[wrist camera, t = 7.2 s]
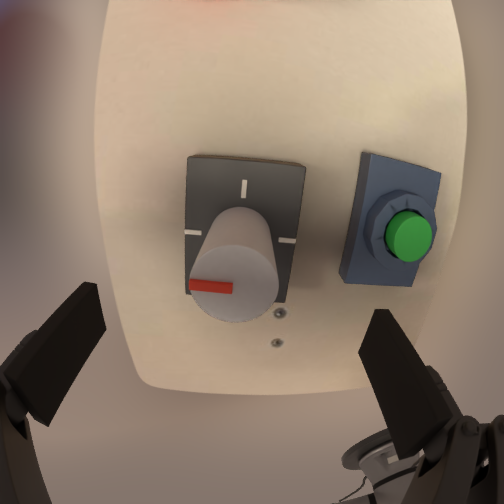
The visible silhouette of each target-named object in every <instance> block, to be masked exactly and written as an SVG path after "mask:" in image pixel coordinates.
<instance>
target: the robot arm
mask: <svg viewBox="0 0 504 504" xmlns="http://www.w3.org/2000/svg"><path fill="white" fill-rule="evenodd" d="M105 331H106V326H105V322H104V318H103V313H102V308H101V304H100V299H99V294H98V289H97V284H95V283H90V282H84V283H82V284H81V285H80V286H79V287H78V288H77V289H76V290H75V291H74V292H73V293H72V294H71V295H70V296H69V297H68V298H67V299H66V300H65V301H64V302H63V303H62V304H61V306H60V307H59V308H58V309H57V310H56V311H55V312H54V313H53V314H52V315H51V316H50V317H49V318H48V319H47V321H46V322H45V323H44V324H43V325H42V326H41V327H40V328H39V330H34V331H32V332H31V333H29V334H28V335H26V336H25V337H24V338H23V340H22V341H21V342H20V344H18V345H17V346H16V348H15V350H13V351H12V353H11V354H10V355H9V356H8V357H7V359H6V360H5V361H4V362H3V364H2V365H1V366H0V504H52V502H51V500H50V497H49V495H48V492H47V489H46V486H45V483H44V480H43V477H42V474H41V471H40V468H39V464H38V461H37V457H36V454H35V449H34V446H33V441H32V437H31V432H30V427H29V421H28V419H27V417H26V414H27V413H28V412H29V413H30V414H31V416H33V418H34V420H36V421H38V422H40V423H42V424H44V425H45V426H47V427H49V425H50V423H51V421H52V419H53V417H54V415H55V413H56V412H57V410H58V408H59V406H60V404H61V402H62V401H63V399H64V397H65V395H66V394H67V392H68V390H69V388H70V387H71V385H72V383H73V382H74V380H75V378H76V377H77V375H78V373H79V372H80V370H81V368H82V367H83V365H84V363H85V362H86V360H87V359H88V357H89V356H90V354H91V352H92V351H93V349H94V348H95V346H96V345H97V343H98V342H99V340H100V338H101V337H102V335H103V334H104V332H105ZM358 354H359V356H360V358H361V361H362V363H363V365H364V368H365V370H366V373H367V375H368V378H369V380H370V383H371V385H372V388H373V390H374V393H375V395H376V398H377V400H378V403H379V406H380V408H381V411H382V414H383V416H384V419H385V422H386V425H387V427H388V430H389V433H390V436H391V439H390V440H388V441H386V442H383V443H381V444H379V445H377V446H375V447H373V448H372V449H370V450H368V451H367V452H365V453H364V454H363V455H362V456H361V457H360V458H359V460H358V462H359V466H360V468H361V470H362V471H363V472H364V474H365V475H366V476H365V477H364V479H363V484H362V485H361V487H360V488H358V489H357V490H356V491H355V492H353V493H351V494H350V495H348V496H346V497H345V498H343V499H341V500H339V501H340V503H333V504H504V415H499V416H497V417H496V418H495V419H494V420H493V421H492V422H491V423H486V424H479V422H478V421H477V420H476V419H475V418H473V417H471V416H463V415H462V413H461V411H460V409H459V408H458V406H457V404H456V402H455V401H454V399H453V397H452V395H451V394H450V392H449V390H447V387H446V385H445V384H444V383H443V380H442V379H441V377H440V375H439V374H438V372H437V371H435V370H434V369H433V368H432V367H431V366H425V365H424V363H423V362H422V360H421V358H420V357H419V355H418V354H417V352H416V350H415V349H414V347H413V346H412V344H411V342H410V341H409V339H408V338H407V336H406V335H405V333H404V332H403V330H402V329H401V327H400V326H399V324H398V323H397V321H396V320H395V318H394V317H393V315H392V314H391V312H390V311H389V309H375V310H374V313H373V316H372V319H371V321H370V324H369V327H368V329H367V332H366V334H365V337H364V339H363V342H362V344H361V347H360V349H359V351H358ZM422 448H423V450H424V453H425V454H424V455H423V456H421V457H420V458H419V451H420V450H421V449H422ZM487 458H488V461H489V464H488V465H486V466H484V461H485V460H486V459H487ZM366 478H368V479H369V480H370V482H371V483H372V486H373V490H374V493H372V494H368V495H365V496H362V497H358V498H355V499H351V500H347V501H343V502H341V501H342V500H344V499H346V498H348V497H349V496H351V495H352V494H354V493H356V492H357V491H359V490H360V489H361V488H362V487H363V486H364V484H365V480H366Z"/></svg>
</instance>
